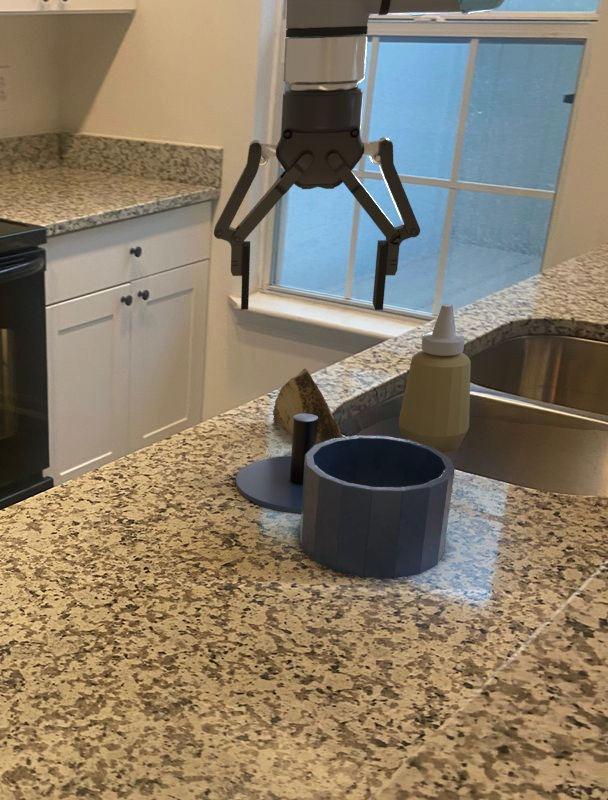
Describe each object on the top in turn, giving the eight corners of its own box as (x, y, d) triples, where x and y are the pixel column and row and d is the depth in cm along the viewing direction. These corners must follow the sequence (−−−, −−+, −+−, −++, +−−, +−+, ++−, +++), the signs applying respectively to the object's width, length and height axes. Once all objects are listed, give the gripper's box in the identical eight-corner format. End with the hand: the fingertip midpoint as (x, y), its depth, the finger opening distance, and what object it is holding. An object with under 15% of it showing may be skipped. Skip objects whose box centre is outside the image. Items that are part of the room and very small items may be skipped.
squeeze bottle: (393, 462, 121) (409, 312, 114) (396, 438, 128) (411, 295, 121) (465, 468, 119) (486, 316, 111) (464, 443, 126) (484, 298, 118)
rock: (251, 406, 134) (256, 423, 124) (293, 353, 131) (302, 366, 122) (316, 455, 135) (326, 475, 125) (359, 403, 132) (373, 420, 123)
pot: (429, 521, 107) (439, 436, 103) (453, 586, 95) (466, 492, 91) (296, 518, 109) (301, 434, 104) (303, 580, 96) (309, 488, 92)
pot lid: (360, 466, 120) (367, 396, 117) (375, 520, 107) (382, 443, 104) (235, 463, 122) (237, 394, 119) (235, 516, 109) (237, 440, 106)
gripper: (452, 80, 99) (428, 298, 108) (194, 88, 103) (192, 297, 112) (466, 85, 93) (440, 316, 102) (189, 92, 96) (188, 315, 105)
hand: (310, 307), depth 107 cm, fingers open, 13 cm apart
